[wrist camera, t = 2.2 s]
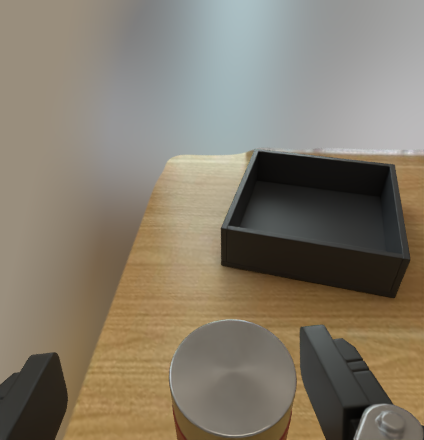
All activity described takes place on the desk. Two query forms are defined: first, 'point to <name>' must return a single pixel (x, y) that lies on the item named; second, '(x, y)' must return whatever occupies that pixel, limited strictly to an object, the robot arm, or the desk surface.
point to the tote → (318, 222)
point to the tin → (232, 383)
